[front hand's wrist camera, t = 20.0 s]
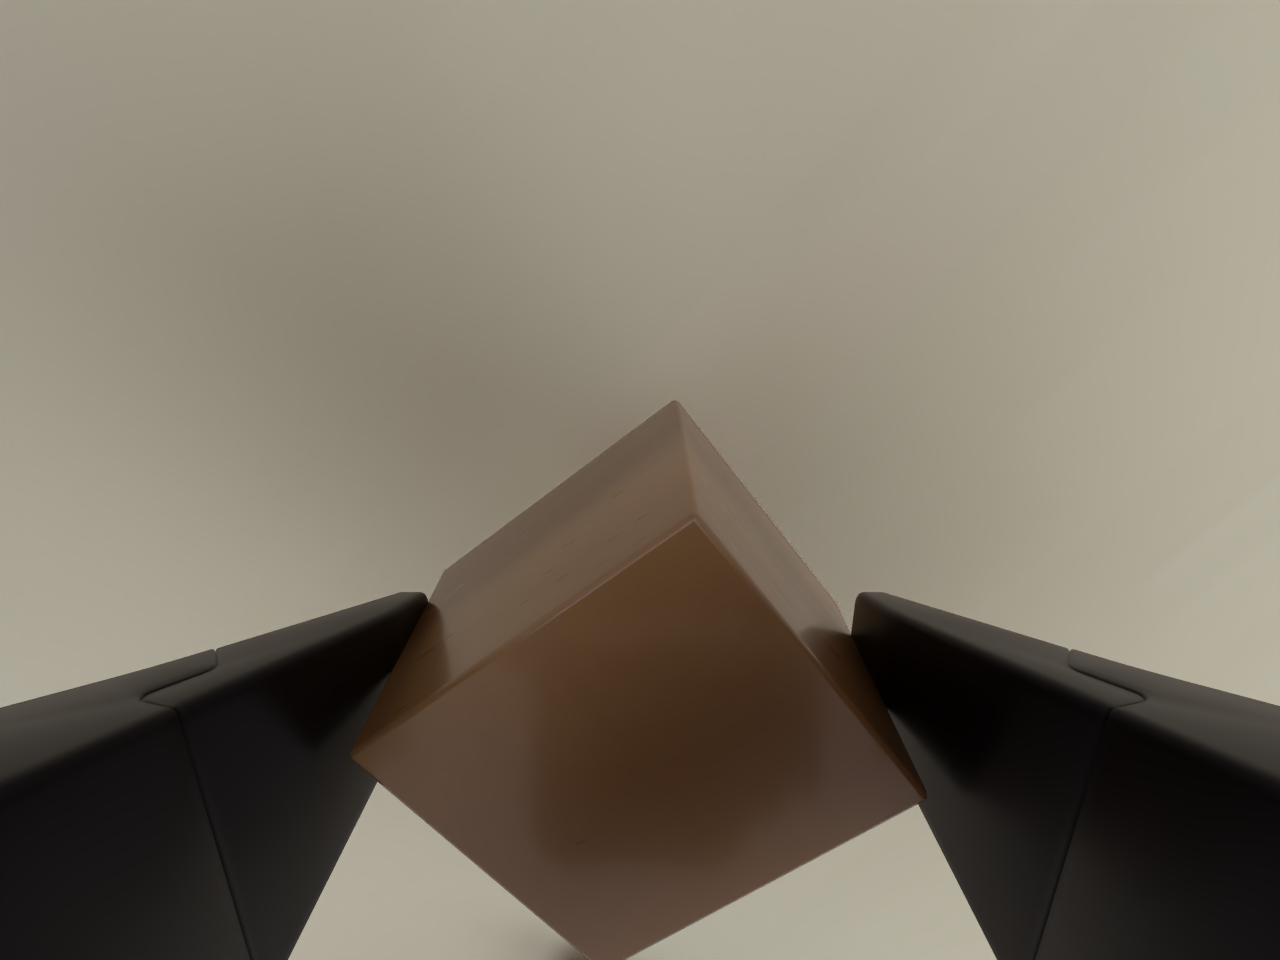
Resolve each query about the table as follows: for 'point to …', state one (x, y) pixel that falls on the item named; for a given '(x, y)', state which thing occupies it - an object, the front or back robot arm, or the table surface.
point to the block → (637, 701)
